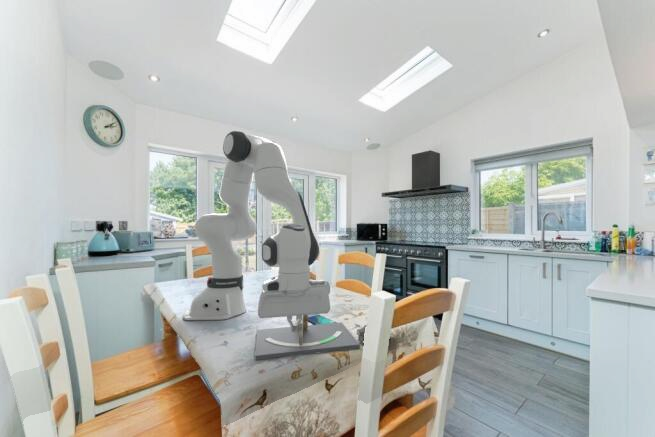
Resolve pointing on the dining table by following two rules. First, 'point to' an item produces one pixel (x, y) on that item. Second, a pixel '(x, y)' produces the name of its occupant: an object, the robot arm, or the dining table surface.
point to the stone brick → (302, 327)
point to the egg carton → (361, 334)
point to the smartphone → (319, 319)
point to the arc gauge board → (303, 340)
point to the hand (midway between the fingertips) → (294, 330)
